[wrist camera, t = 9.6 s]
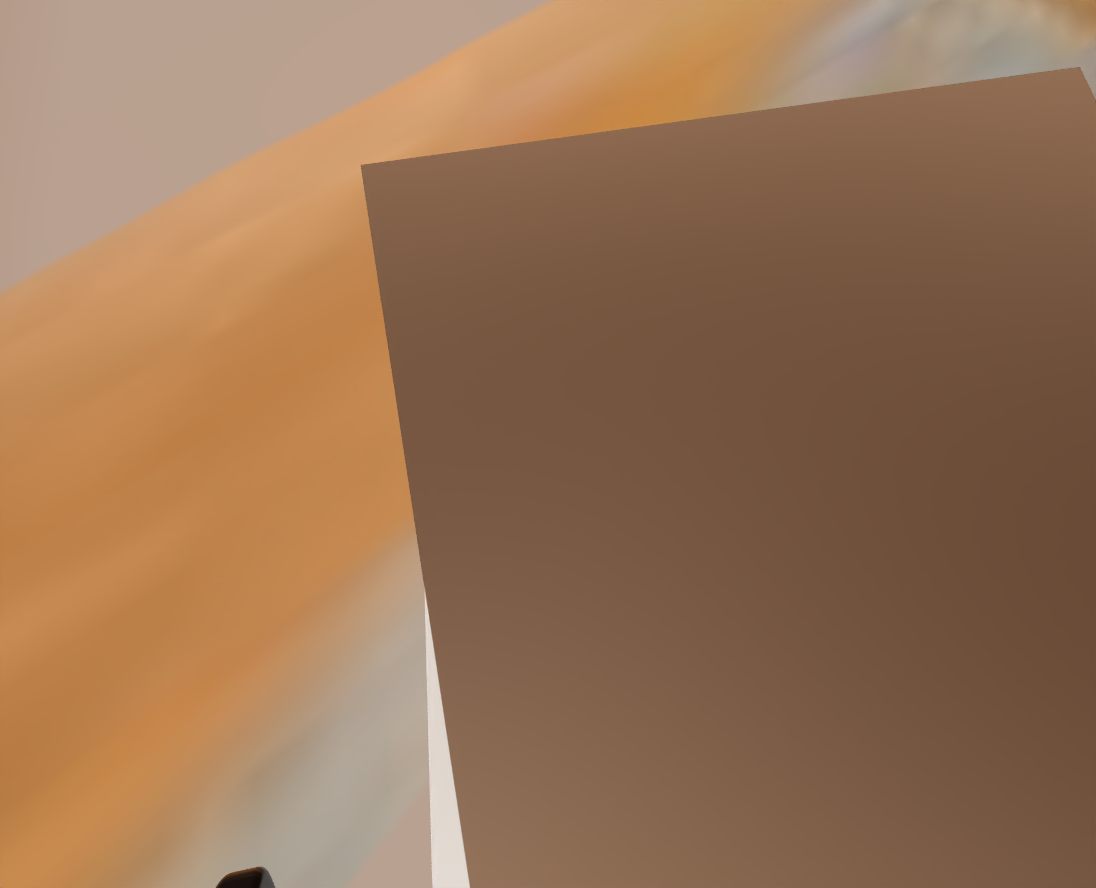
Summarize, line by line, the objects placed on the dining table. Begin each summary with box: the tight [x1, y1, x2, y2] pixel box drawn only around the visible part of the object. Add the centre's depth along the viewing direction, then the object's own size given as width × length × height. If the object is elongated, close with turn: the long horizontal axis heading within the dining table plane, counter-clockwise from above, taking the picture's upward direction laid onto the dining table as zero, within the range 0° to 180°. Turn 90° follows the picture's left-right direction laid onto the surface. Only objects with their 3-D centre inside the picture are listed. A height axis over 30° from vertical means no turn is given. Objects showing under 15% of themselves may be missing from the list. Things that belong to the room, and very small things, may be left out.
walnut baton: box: [361, 67, 1096, 888], centre depth 10 cm, size 4×4×14 cm
